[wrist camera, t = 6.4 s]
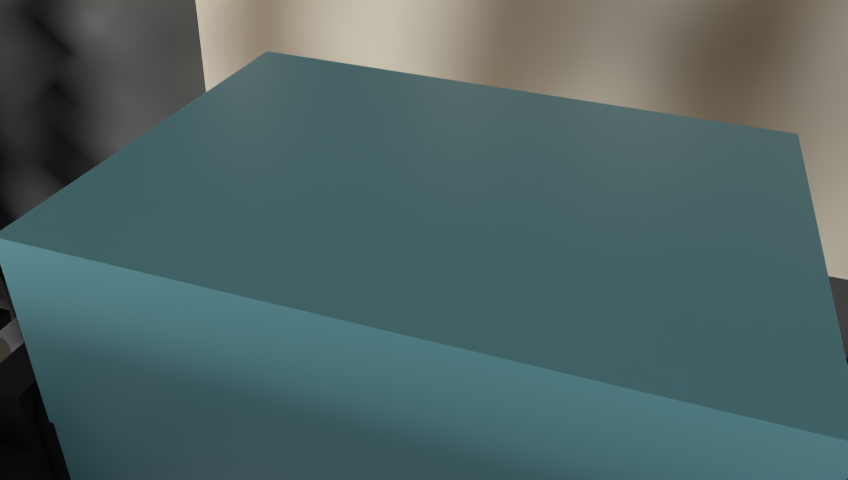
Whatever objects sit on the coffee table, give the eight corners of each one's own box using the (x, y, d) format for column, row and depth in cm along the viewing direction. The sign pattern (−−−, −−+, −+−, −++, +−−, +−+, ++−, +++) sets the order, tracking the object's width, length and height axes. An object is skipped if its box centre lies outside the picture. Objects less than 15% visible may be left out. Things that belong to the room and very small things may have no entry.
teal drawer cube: (798, 133, 9) (869, 467, 5) (672, 512, 13) (651, 889, 9) (266, 51, 11) (-27, 248, 6) (292, 409, 14) (117, 683, 10)
